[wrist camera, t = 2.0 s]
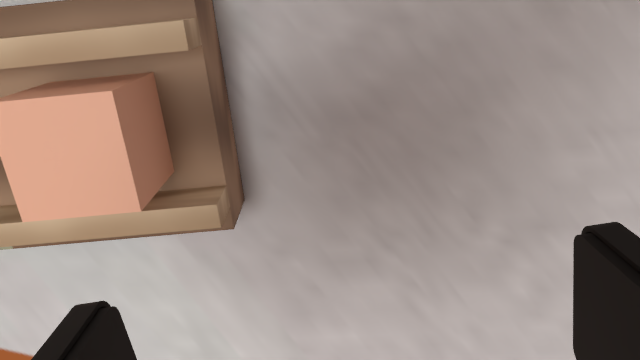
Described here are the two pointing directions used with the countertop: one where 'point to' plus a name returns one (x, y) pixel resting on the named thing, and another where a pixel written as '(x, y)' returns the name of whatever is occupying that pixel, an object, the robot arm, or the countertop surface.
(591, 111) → the countertop surface
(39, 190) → the block
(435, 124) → the countertop surface
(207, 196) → the brown rectangular tray
